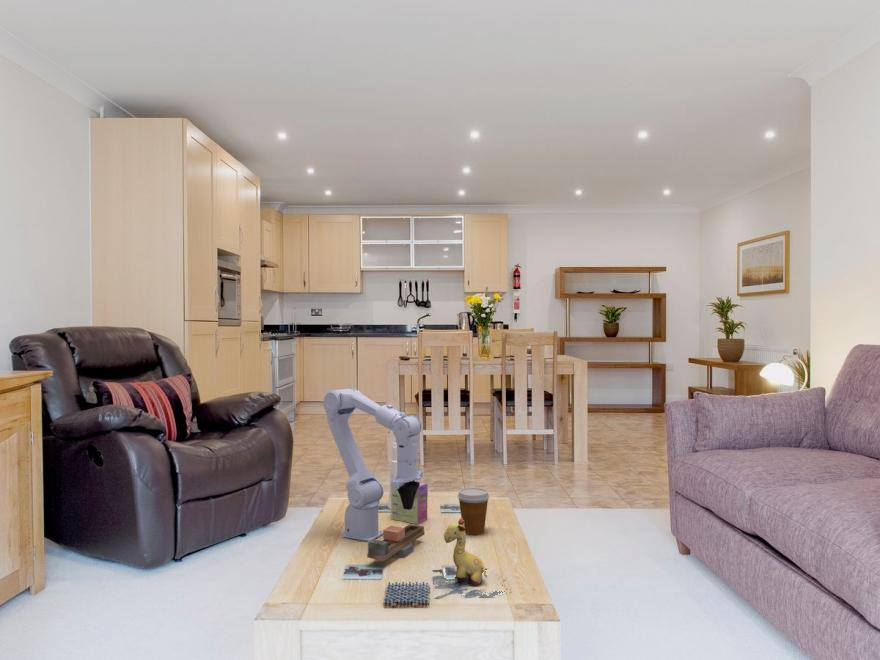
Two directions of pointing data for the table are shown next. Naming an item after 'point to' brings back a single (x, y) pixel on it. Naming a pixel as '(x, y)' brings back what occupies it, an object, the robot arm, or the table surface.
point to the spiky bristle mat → (406, 595)
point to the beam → (395, 544)
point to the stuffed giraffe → (462, 565)
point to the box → (418, 509)
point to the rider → (393, 534)
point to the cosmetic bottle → (393, 469)
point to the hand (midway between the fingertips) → (407, 508)
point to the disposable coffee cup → (473, 509)
